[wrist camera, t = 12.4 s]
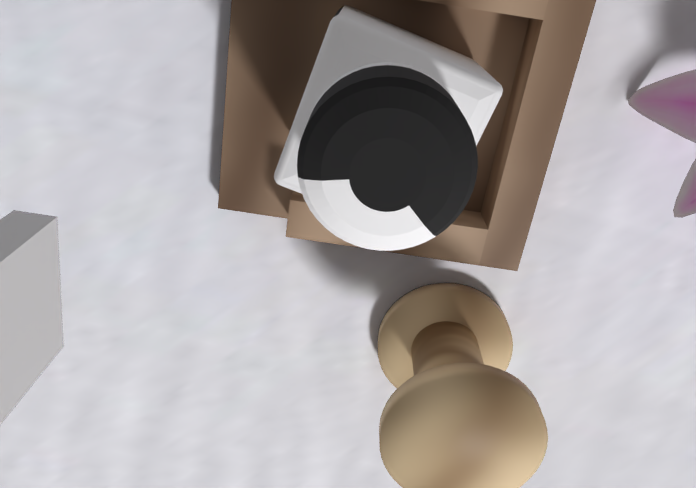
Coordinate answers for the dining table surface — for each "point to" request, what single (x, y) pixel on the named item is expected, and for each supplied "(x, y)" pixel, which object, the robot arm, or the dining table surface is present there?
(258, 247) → the dining table surface
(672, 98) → the lily
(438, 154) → the medicine bottle
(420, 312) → the bobbin
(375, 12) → the notched board
